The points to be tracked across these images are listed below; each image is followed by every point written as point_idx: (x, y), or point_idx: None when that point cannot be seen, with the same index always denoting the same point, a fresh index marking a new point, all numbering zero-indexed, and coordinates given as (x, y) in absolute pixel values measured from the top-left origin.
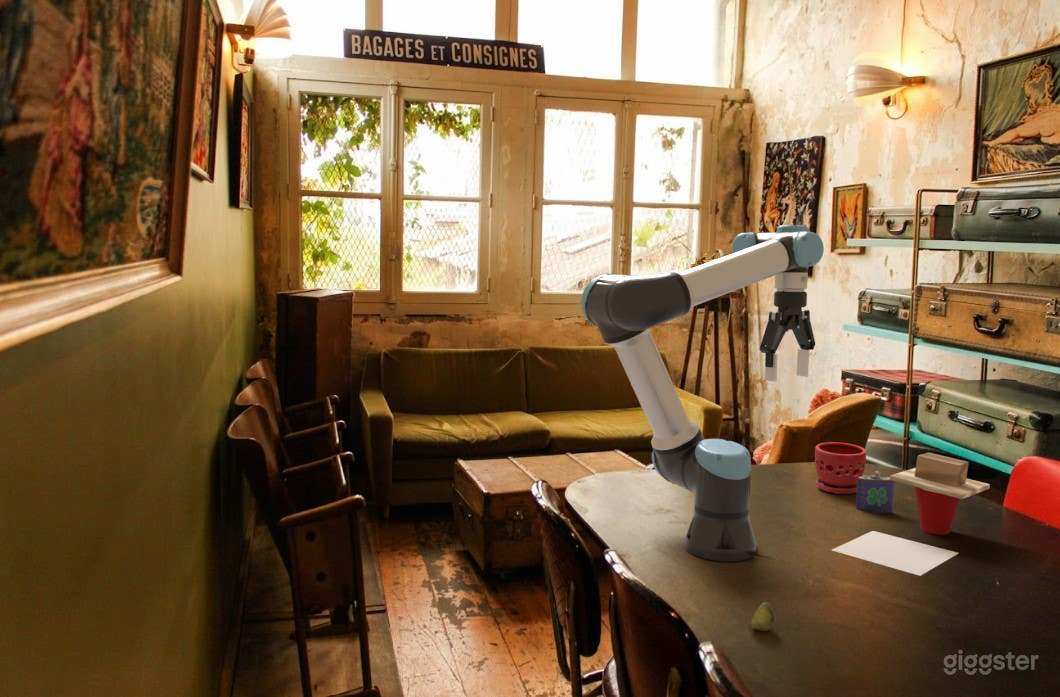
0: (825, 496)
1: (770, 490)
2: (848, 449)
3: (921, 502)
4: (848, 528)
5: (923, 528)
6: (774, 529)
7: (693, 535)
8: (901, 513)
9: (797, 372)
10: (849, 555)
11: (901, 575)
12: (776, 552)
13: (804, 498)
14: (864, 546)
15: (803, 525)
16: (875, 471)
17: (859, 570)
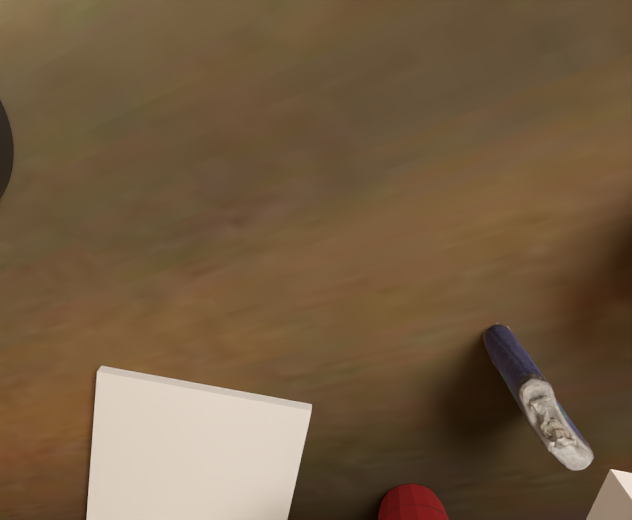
0: (621, 203)
1: (604, 10)
2: None
3: None
4: (327, 346)
5: (387, 502)
6: (183, 190)
7: None
8: None
9: (625, 508)
10: (94, 411)
11: None
12: (17, 260)
13: (560, 153)
14: (179, 422)
15: (274, 244)
16: (563, 438)
17: (54, 436)
